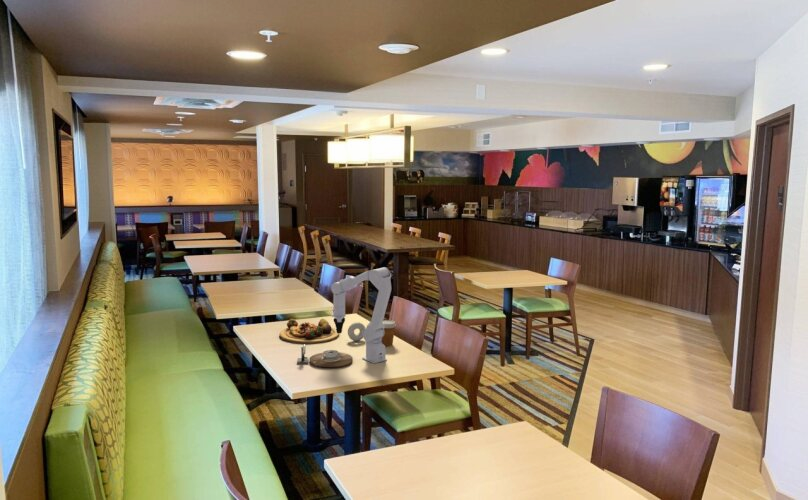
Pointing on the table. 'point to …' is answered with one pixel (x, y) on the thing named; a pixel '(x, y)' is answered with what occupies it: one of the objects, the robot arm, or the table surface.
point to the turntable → (341, 361)
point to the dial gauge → (303, 359)
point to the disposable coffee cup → (388, 332)
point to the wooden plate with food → (308, 332)
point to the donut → (352, 327)
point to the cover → (330, 355)
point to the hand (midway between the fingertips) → (339, 332)
